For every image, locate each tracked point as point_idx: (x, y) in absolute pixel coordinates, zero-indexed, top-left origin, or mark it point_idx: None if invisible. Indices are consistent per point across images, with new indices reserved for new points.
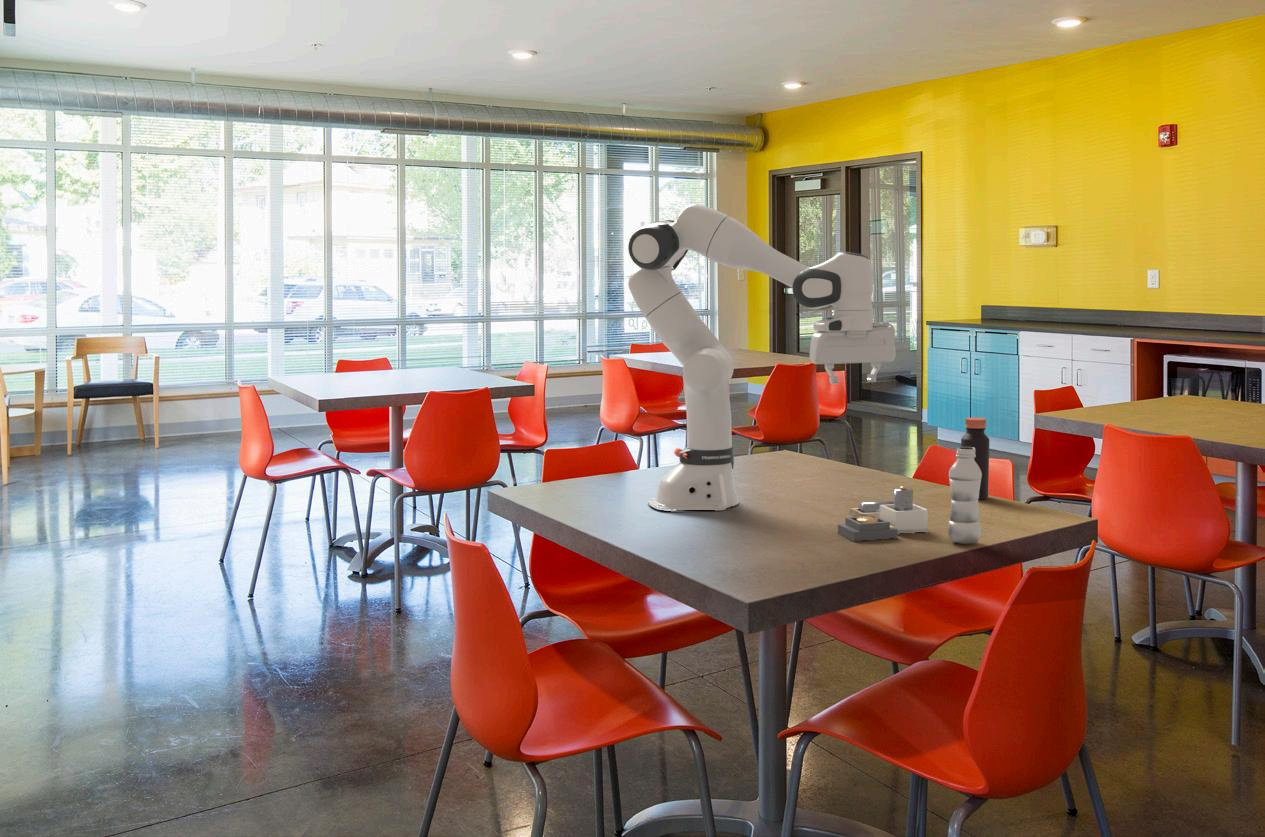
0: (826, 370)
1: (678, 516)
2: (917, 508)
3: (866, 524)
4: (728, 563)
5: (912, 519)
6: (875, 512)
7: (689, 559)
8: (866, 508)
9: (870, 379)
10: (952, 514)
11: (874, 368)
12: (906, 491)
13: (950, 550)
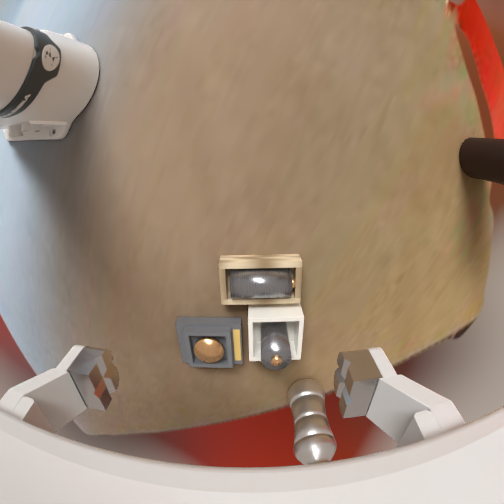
0: (25, 389)
1: (17, 166)
2: (297, 339)
3: (199, 366)
4: None
5: None
6: (246, 301)
7: (36, 351)
8: (232, 298)
9: (337, 395)
10: (292, 412)
11: (407, 420)
12: (273, 369)
13: (273, 402)
